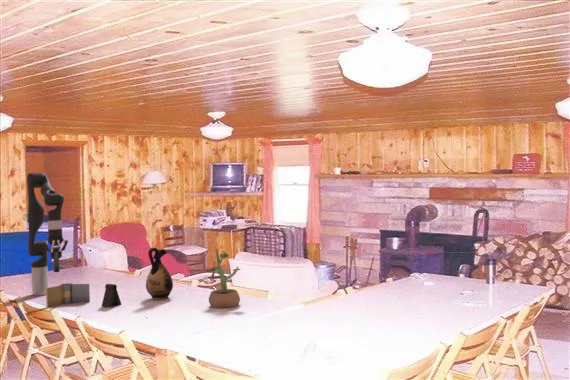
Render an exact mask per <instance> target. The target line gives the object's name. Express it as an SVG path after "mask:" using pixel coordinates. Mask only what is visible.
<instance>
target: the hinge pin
mask: <svg viewBox="0 0 570 380" xmlns="http://www.w3.org/2000/svg"><path fill="white" fill-rule="evenodd" d="M59 249H60V248H59V247H58V246H54V248H53V254H54V259H52V261H53V262H52V263H53V272H54V273H59V272H60V271H61V270H60V269H61V268H60V258H59Z"/></svg>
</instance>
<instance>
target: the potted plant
mask: <svg viewBox="0 0 570 380" xmlns="http://www.w3.org/2000/svg"><path fill="white" fill-rule="evenodd" d="M215 256H216V266H215V265H214V264H212V267H211V268H209V269H206V270H205V272H207V273H211V279H213V280H214V279H215V273H218V275H219V280H220V289H215V290H212V291H210V294H209V296H208V303H209V306H210V307H212V308H214V309H230V308H234V307H237V306H238V305H239V303H240V301H241V296H240V294H239V293H238V290H237V289H232V288H228V286H227V281H228V280H229V279H231V278H233V277H234V276H235V275H236V274H237V273H238V271H241V270H242V268H241V269H240V268H239V266H236V268H234V269H233V270H232V272H231V274H229V275H227V276H225V273H224V268H222V267H223V266H222V261H223V260H224V259H226V258H229V254H228V253H226V251H225V250H223V251H222V253H221V254H219V249H215Z"/></svg>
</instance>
